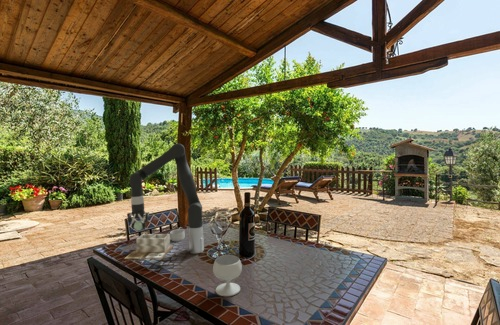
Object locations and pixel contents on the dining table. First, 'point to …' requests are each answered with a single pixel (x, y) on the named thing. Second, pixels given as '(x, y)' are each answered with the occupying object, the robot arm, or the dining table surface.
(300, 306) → the dining table surface
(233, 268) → the chalice
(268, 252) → the dining table surface
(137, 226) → the sage ball
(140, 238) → the sorting board
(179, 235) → the teacup
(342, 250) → the dining table surface
